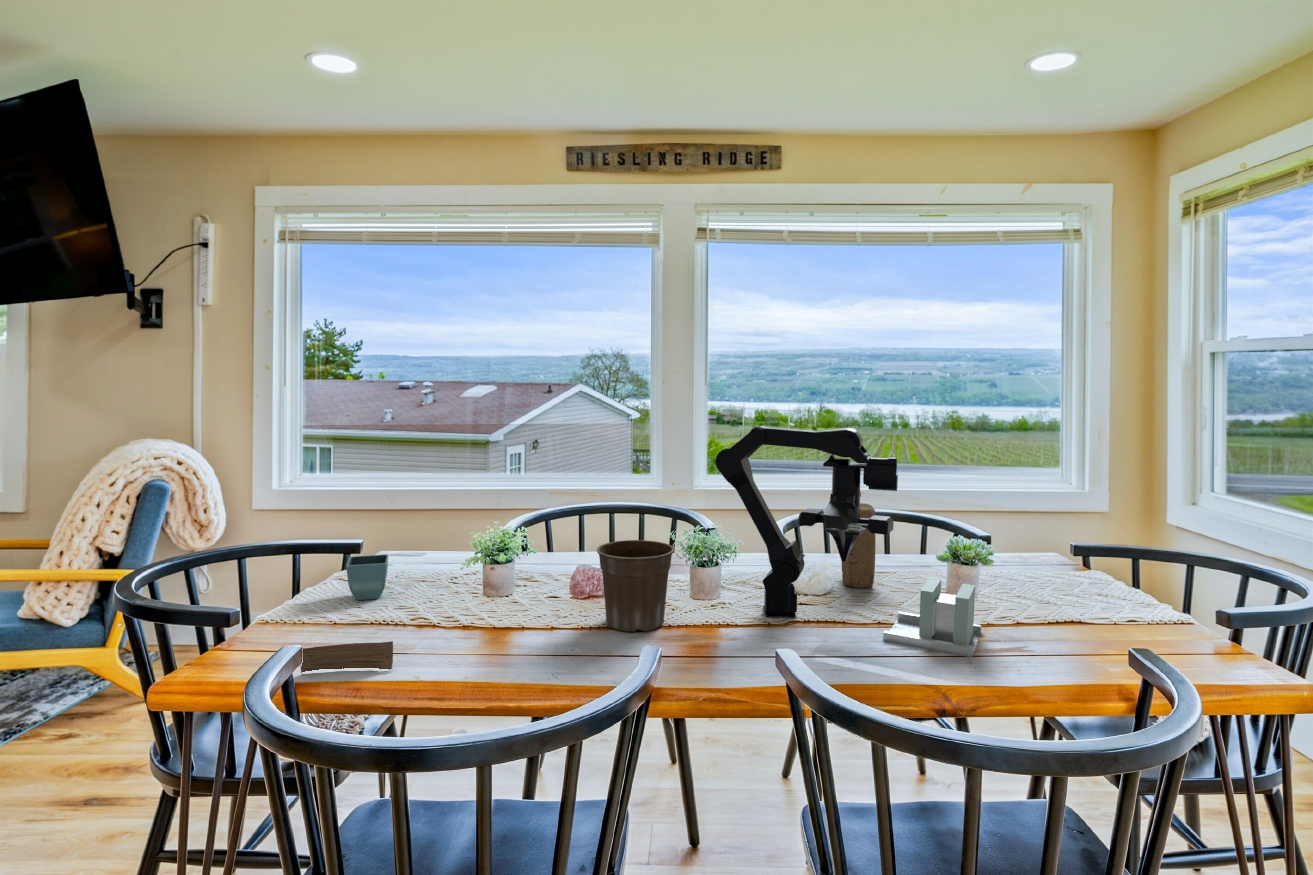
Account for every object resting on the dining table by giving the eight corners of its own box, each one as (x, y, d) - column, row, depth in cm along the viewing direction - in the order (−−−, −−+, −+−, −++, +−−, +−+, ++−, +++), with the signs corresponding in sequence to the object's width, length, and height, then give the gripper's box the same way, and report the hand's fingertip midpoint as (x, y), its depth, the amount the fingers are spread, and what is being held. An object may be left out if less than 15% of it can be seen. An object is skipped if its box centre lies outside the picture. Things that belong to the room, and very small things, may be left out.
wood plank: (298, 678, 123) (297, 650, 123) (302, 674, 125) (301, 646, 125) (392, 672, 126) (391, 644, 125) (394, 667, 128) (393, 640, 127)
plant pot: (620, 605, 162) (620, 535, 160) (685, 616, 155) (686, 543, 153) (582, 628, 147) (582, 552, 146) (652, 641, 140) (652, 561, 139)
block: (875, 590, 174) (878, 509, 172) (844, 589, 175) (846, 508, 173) (868, 577, 184) (870, 501, 183) (838, 576, 185) (840, 500, 184)
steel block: (934, 641, 138) (935, 601, 137) (939, 631, 143) (940, 593, 142) (953, 645, 136) (955, 604, 135) (958, 635, 141) (959, 595, 140)
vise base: (882, 645, 138) (882, 632, 138) (898, 622, 151) (899, 610, 151) (971, 662, 130) (972, 649, 130) (981, 636, 143) (981, 624, 143)
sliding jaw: (918, 641, 137) (920, 590, 136) (928, 625, 146) (929, 577, 145) (932, 643, 136) (934, 592, 135) (941, 627, 145) (942, 579, 144)
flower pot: (389, 589, 173) (388, 553, 172) (388, 600, 165) (387, 562, 164) (350, 593, 170) (349, 556, 170) (347, 604, 162) (345, 565, 161)
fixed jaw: (952, 648, 134) (954, 596, 133) (959, 632, 143) (961, 583, 142) (966, 651, 133) (968, 599, 132) (973, 634, 142) (975, 585, 141)
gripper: (790, 489, 147) (788, 563, 149) (882, 498, 138) (880, 576, 139) (807, 482, 157) (806, 552, 158) (895, 489, 148) (892, 563, 149)
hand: (844, 561), depth 151 cm, fingers closed
